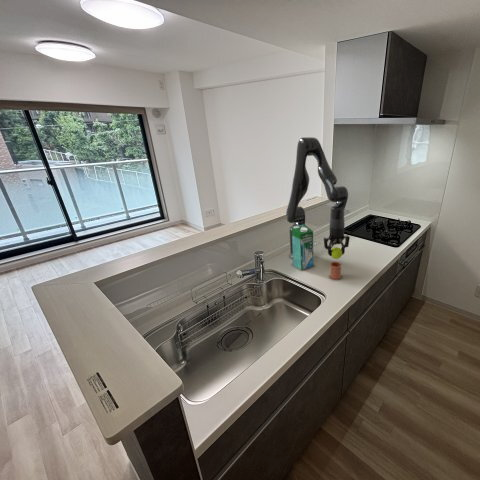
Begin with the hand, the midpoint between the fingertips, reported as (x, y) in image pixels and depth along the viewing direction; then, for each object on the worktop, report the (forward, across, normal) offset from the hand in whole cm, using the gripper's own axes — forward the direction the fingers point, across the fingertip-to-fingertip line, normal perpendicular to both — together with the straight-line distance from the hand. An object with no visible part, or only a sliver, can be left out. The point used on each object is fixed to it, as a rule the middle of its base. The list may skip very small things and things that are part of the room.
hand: (336, 254), depth 141 cm
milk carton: (+14, +15, -18) cm, 27 cm away
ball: (-1, 0, 0) cm, 1 cm away
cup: (+14, 0, 0) cm, 14 cm away
